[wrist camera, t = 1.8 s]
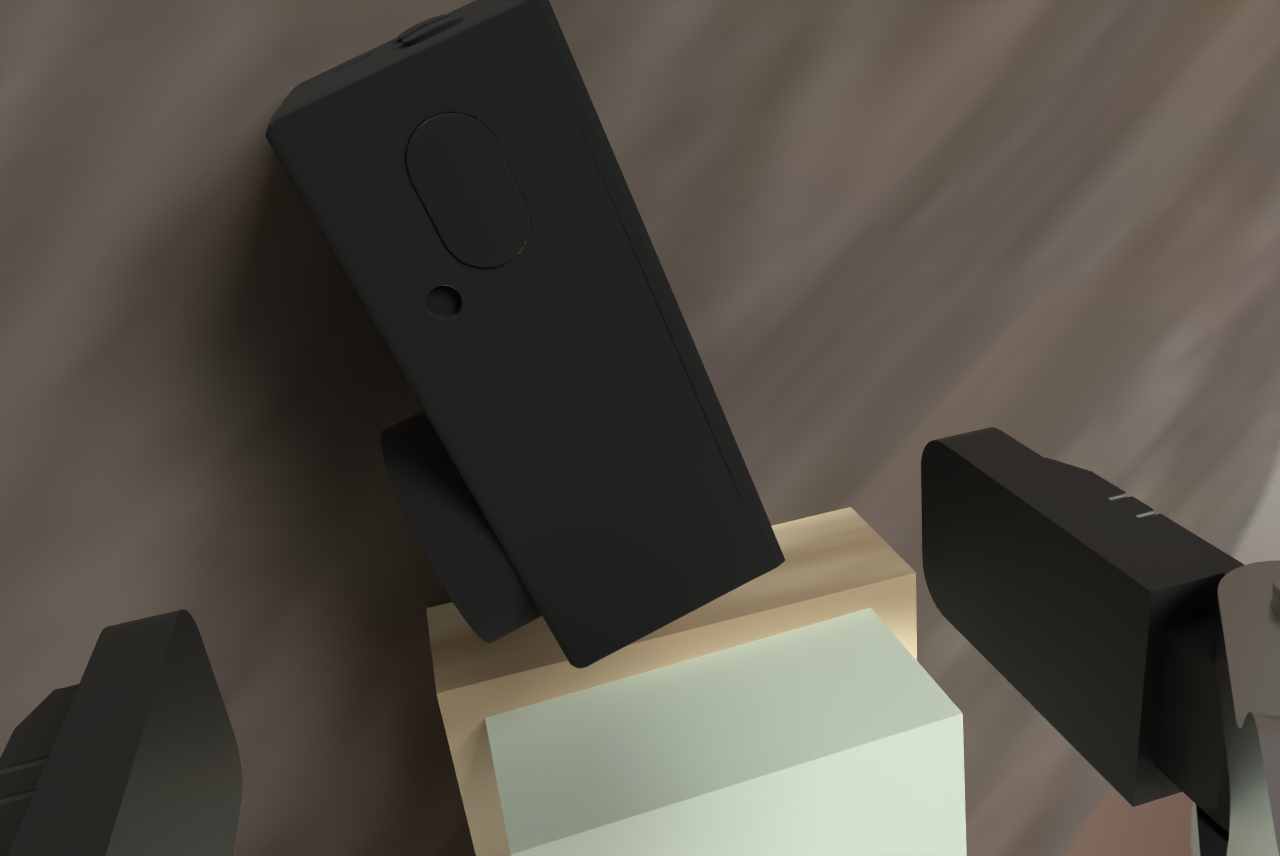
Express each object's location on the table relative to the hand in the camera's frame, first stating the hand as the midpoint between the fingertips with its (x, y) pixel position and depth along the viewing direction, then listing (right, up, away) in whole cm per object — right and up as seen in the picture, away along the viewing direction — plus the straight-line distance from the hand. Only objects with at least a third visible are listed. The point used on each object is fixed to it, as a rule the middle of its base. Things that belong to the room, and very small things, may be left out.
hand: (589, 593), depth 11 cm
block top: (+2, -9, +14) cm, 17 cm away
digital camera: (-3, +5, +11) cm, 13 cm away
